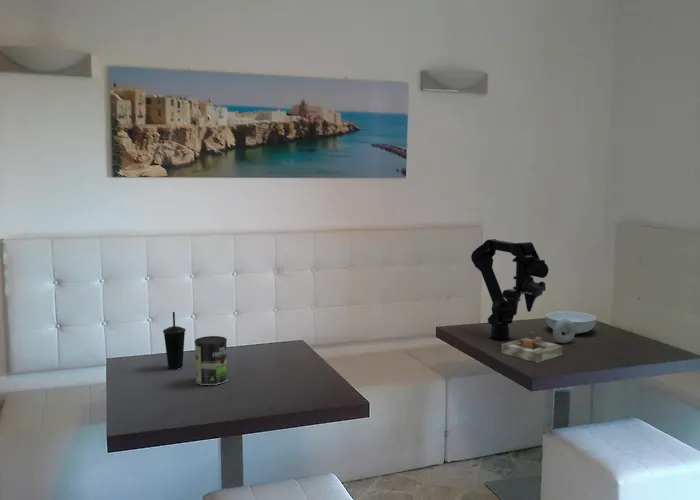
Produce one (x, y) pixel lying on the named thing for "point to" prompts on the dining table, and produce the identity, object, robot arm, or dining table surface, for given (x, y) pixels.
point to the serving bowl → (579, 319)
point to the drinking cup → (174, 345)
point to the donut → (558, 330)
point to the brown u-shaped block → (531, 341)
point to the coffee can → (211, 360)
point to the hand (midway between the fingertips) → (522, 313)
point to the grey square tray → (532, 350)
